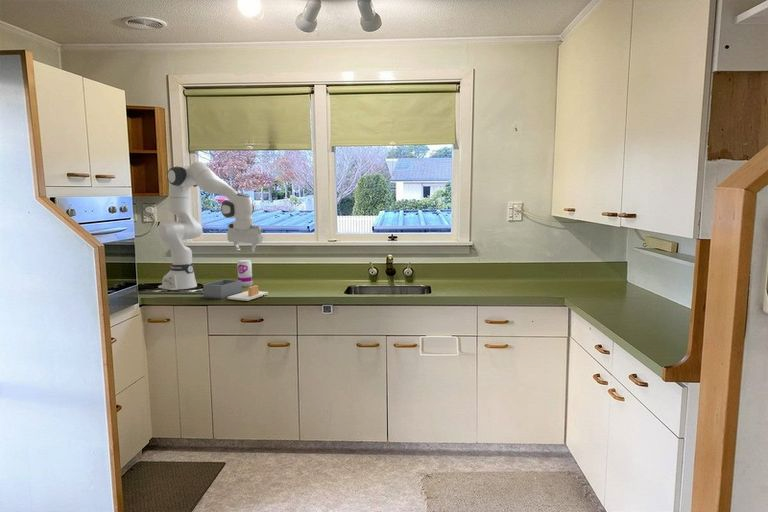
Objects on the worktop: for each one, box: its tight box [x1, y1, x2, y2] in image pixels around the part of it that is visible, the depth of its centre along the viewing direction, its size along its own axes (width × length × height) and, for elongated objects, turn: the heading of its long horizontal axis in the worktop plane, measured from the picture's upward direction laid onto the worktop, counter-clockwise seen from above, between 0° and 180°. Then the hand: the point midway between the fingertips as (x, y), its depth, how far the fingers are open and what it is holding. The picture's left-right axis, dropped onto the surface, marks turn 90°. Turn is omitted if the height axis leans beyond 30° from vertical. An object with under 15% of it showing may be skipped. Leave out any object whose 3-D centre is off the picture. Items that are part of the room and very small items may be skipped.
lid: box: [227, 284, 269, 302], centre depth 262 cm, size 13×17×6 cm
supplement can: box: [236, 259, 254, 288], centre depth 294 cm, size 8×8×15 cm
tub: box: [202, 278, 243, 300], centre depth 268 cm, size 12×16×7 cm
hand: (245, 251), depth 261 cm, fingers open, 8 cm apart
